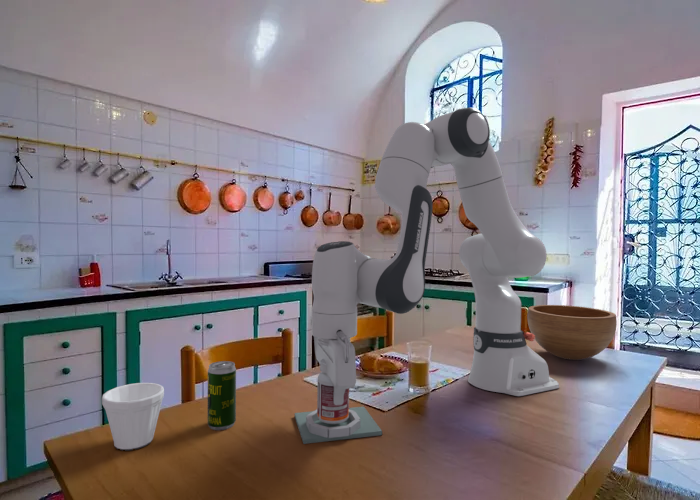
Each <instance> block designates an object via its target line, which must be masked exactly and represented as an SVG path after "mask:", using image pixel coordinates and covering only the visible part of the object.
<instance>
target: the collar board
mask: <svg viewBox="0 0 700 500" xmlns="http://www.w3.org/2000/svg"><path fill="white" fill-rule="evenodd" d="M294 419H295V422H296V425H297V429H298V432H299V434H300V438H301V440H302V443H303V445H307V444H314V443H323V442H333V441H341V440H349V439H359V438H366V437H367V438H369V437H376V436H382V435H383V430H382V429H381V427H380V426H379V424H377V422H376V421H375V420H374V418H373V417H372V415H371V414H370V413H369V412H368V410H367V408H365V406H357V407H356V406H355V407H354V406H353V407H349V417H348V419H347V420H346V421H345V422H342V423H338V424H327V423H323V422H321V421H320V420H319V419H318V416H317V408H316V409H315V410H311V411H303V412H294Z"/></svg>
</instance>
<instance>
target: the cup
mask: <svg viewBox="0 0 700 500" xmlns="http://www.w3.org/2000/svg"><path fill="white" fill-rule="evenodd" d="M164 397H165V388H164V386H163V385H161V384H158V383H154V382H136V383H129V384H125V385H120V386H116V387H114V388H112V389H109V390H107V391H106V392H105V393H103V394H102V397H101V404H102V406H103V409H104V410H105V413H106V417H107V420H108V424H109V429H110V431H111V436H112V441H113V445H114V448H115V449H117V450H118V449H120V451H123V450H125V451H134V450H133V449H135V450H139V449H142V448H144V447H147V446H148V445H150V444H151V442H152V441H153V440H154V436H155V431H156V429H157V424H158V419H159V415H160V411H161V408H162V403H163V399H164Z"/></svg>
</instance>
